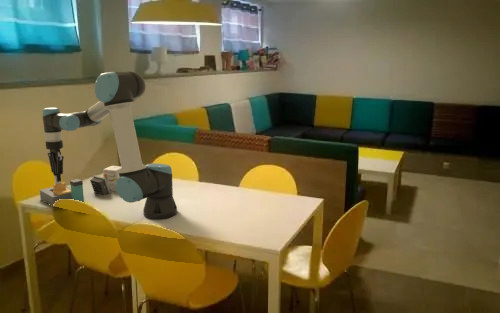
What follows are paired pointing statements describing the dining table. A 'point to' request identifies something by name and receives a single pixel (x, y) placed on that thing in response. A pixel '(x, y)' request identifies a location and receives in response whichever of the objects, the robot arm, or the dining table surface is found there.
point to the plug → (77, 189)
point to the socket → (53, 195)
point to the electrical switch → (100, 185)
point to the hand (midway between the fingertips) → (58, 187)
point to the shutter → (60, 189)
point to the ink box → (111, 176)
